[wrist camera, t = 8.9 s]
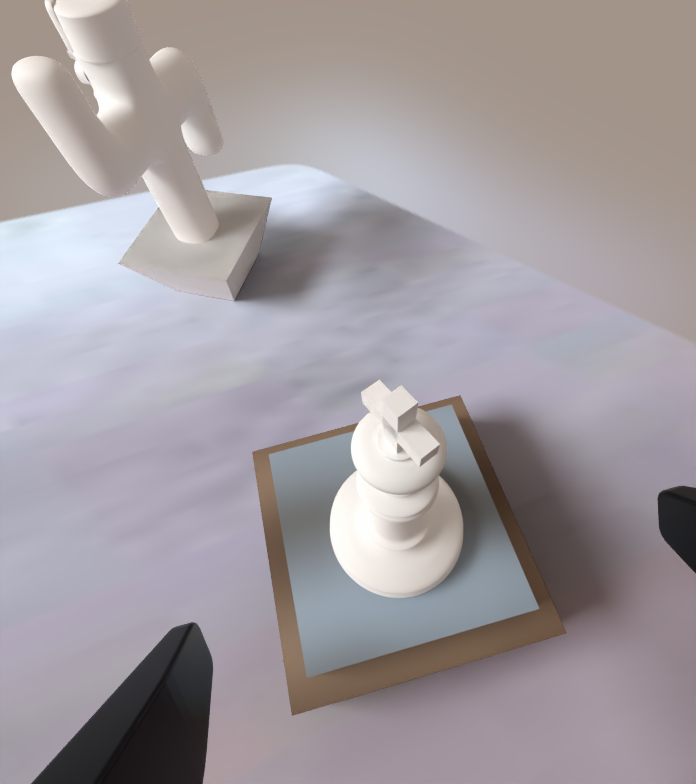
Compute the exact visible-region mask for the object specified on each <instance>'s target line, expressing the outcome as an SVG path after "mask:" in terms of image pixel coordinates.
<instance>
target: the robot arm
mask: <svg viewBox="0 0 696 784" xmlns="http://www.w3.org/2000/svg"><path fill="white" fill-rule="evenodd" d="M658 515H659V529H660V532H661V535H662V537H663V538H664V540H665V541H666V542H667V543H668V544H669V545H670V547H671V548H672V549H673V550H674V551H675V552H676V553H677V554H678V555H679V556H680V557H681V558H682V559H683V560H684V561H685V563H686V564H687V565H688V566H689V567H690V568H691V569H692V570H693V571H694V572H695V573H696V488H693V487H687V486H677V487H674V488H670V489H667V490H663V491H662V492H660V493H659V495H658ZM212 676H213V662H212V657H211V654H210V651H209V649H208V647H207V644H206V642H205V640H204V637H203V635H202V632H201V630H200V628H199V626H198V625H197V624H196V623H193V622H191V623H188V624H184V625H180V626H177V627H174V628H172V629H171V630H170V631H169V632H168V633H167V634H166V635H165V637H164V638H163V639H162V640H161V641H160V642H159V643H158V644H157V645H156V647H155V648H154V649H153V650H152V651H151V652H150V653H149V654H148V655H147V656H146V658H145V659H144V660H143V661H142V662H141V663H140V664H139V665H138V666H137V667H136V669H135V670H134V671H133V672H132V673H131V674H130V675H129V676H128V677H127V679H126V680H125V681H124V682H123V683H122V684H121V685H120V686H119V687H118V688H117V690H116V691H115V692H114V693H113V694H112V695H111V696H110V697H109V698H108V699H107V701H106V702H105V703H104V704H103V705H102V706H101V707H100V708H99V709H98V710H97V712H96V713H95V714H94V715H93V716H92V717H91V718H90V719H89V720H88V722H87V723H86V724H85V725H84V726H83V727H82V728H81V729H80V730H79V731H78V733H77V734H76V735H75V736H74V737H73V738H72V739H71V740H70V741H69V742H68V744H67V745H66V746H65V747H64V748H63V749H62V750H61V751H60V752H59V753H58V755H57V756H56V757H55V758H54V759H53V760H52V761H51V762H50V763H49V765H48V766H47V767H46V768H45V769H44V770H43V771H42V772H41V773H40V774H39V776H38V777H37V778H36V779H35V780H34V781H33V782H32V783H31V784H203V777H204V770H205V762H206V752H207V740H208V728H209V715H210V702H211V689H212Z"/></svg>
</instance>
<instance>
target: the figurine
mask: <svg viewBox="0 0 696 784" xmlns="http://www.w3.org/2000/svg"><path fill="white" fill-rule="evenodd" d="M45 6H46V9H47V11H48V14H49V16H50V18H51V19H52V21H53V23H54V25H55V27H56V28H57V30H58V32H59V34H60V36H61V37H62V39H63V41H64V43H65V45H66V47H67V48H68V50H69V51H67V53H68V54H69V56H70V57H71V58H73V59H74V60H76V61H75V72H76V75H77V77H78V78H79V80H80V81H81V82H82V83H85V84H91V86H92V87H93V89H94V96H95V98H96V99H97V100H98V104H99V113H98V114H97V115H96V114H95V112H94V111H93V109H92V108H91V106H90V105H89V103H88V102H87V100H86V98H85V96H84V95H83V93H82V91H81V90H80V88H79V86H78V85H77V83H76V82H75V80H74V78H73V77H72V75H71V74H70V73H69V71H68V70H67V69H66V68H65V67H64V66H63V65H62V64H60V63H59V62H57V61H55V60H53V59H51V58H48V57H42V56H31V57H27V58H23V59H21V60H19V61H18V62H17V63H16V64H15V65H14V66H13V68H12V79H13V81H14V84H15V86H16V88H17V90H18V91H19V93H20V95H21V96H22V98H23V99H24V101H25V102H26V103H27V105H28V106H29V108H30V109H31V111H32V112H33V113H34V115H35V116H36V118H37V119H38V120H39V122H40V123H41V125H42V126H43V128H44V129H45V131H46V132H47V134H48V135H49V136H50V138H51V139H52V141H53V142H54V143H55V145H56V146H57V148H58V149H59V151H60V152H61V153H62V155H63V156H64V158H65V159H66V160H67V162H68V163H69V165H70V166H71V167H72V168H73V170H74V171H75V172H76V173H77V175H78V176H79V177H80V178H81V179H82V180H83V181H84V182H85V183H86V184H87V185H88V186H89V187H90V188H92V189H93V190H94V191H96V192H98V193H99V194H102V195H104V196H107V197H120V196H123V195H125V194H126V193H127V192H129V191H130V190H131V188H133V187H134V185H135V184H136V183H137V181H138V180H139V179H140V178H141V176H142V177H143V179H144V181H145V183H146V184H147V186H148V188H149V190H150V192H151V193H152V195H153V197H154V199H155V201H156V202H157V204H158V206H159V207H158V209H157V210H156V212H155V213H154V214H153V216H152V217H151V219H150V220H149V221H148V223H147V224H146V226H145V227H144V228H143V230H142V231H141V233H140V234H139V235H138V237H137V238H136V239H135V241H134V242H133V244H132V245H131V246H130V248H129V249H128V251H127V252H126V253H125V255H124V256H123V258H122V259H121V260H120V262H119V263H118V264H120V265H123V266H125V267H127V268H129V269H131V270H133V271H135V272H138V273H140V274H142V275H144V276H146V277H148V278H150V279H152V280H155V281H157V282H159V283H161V284H163V285H165V286H167V287H170V288H172V289H174V290H176V291H180V292H185V293H191V294H197V295H203V296H208V297H214V298H220V299H226V300H231V301H235V299H236V297H237V295H238V293H239V291H240V289H241V287H242V285H243V283H244V281H245V279H246V278H247V276H248V274H249V272H250V270H251V268H252V266H253V264H254V262H255V260H256V258H257V256H258V255H259V250H260V246H261V242H262V238H263V233H264V229H265V225H266V221H267V216H268V212H269V208H270V203H271V199H272V198H269V197H261V196H252V195H243V194H234V193H226V192H217V191H208V190H205V189H204V186H203V184H202V182H201V179H200V177H199V175H198V173H197V170H196V168H195V165H194V163H193V161H192V158H191V156H190V154H189V151H188V149H187V147H186V144H187V145H188V147H189V148H190V149H191V151H193V152H194V153H196V154H199V155H204V156H210V155H214V154H217V153H219V152H220V151H221V150H222V148H223V138H222V135H221V132H220V129H219V126H218V123H217V121H216V118H215V115H214V112H213V109H212V106H211V103H210V100H209V98H208V95H207V92H206V89H205V86H204V84H203V81H202V79H201V77H200V74H199V72H198V70H197V69H196V67H195V65H194V63H193V62H192V61H191V59H190V58H189V57H188V56H187V55H186V54H185V53H184V52H182V51H180V50H179V49H176V48H172V47H168V48H163V49H161V50H159V51H158V52H157V53H155V54H154V55H153V56H152V58H151V59H150V60H149V58H148V56H147V53H146V51H145V49H144V46H143V43H142V41H141V38H140V34H139V31H138V29H137V26H136V23H135V20H134V17H133V15H132V12H131V9H130V6H129V4H128V1H127V0H45ZM183 137H184V138H183ZM184 139H185V142H186V144H185V142H184Z"/></svg>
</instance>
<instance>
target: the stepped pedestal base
mask: <svg viewBox="0 0 696 784" xmlns="http://www.w3.org/2000/svg"><path fill="white" fill-rule="evenodd" d="M418 408H420V409H422V410H424V411H425V412H427V413H428V414H430V415H431V416H432V417H433V418H434V419H435V420H436V421H437V423H438V424H439V425H440V427H441V429H442V431H443V433H444V435H445V438H446V443H447V456H446V461H445V464H444V467H443V469H442V471H441V473H440V474H439V476H440V477H441V478H442V479H443V480H444V481H445V482H446V483H447V484H448V486H449V487H450V488H451V490H452V491H453V493H454V495H455V497H456V499H457V501H458V503H459V506H460V509H461V513H462V518H463V543H462V548H461V552H460V555H459V558H458V560H457V562H456V564H455V566H454V568H453V569H452V571H451V572H450V573H449V575H448V576H447V577H446V578H445V579H444V580H443V581H442V582H441V583H440V584H438V585H437V586H436V587H434V588H433V589H431V590H429V591H427V592H425V593H423V594H420V595H417V596H413V597H408V598H390V597H385V596H381V595H378V594H375V593H372V592H370V591H368V590H366V589H365V588H363V587H361V586H360V585H359V584H357V583H356V582H355V581H354V580H353V579H352V578H351V577H350V576H349V575H348V574H347V573H346V572H345V571H344V569H343V568H342V566H341V565H340V563H339V561H338V559H337V557H336V555H335V553H334V550H333V547H332V543H331V538H330V515H331V509H332V505H333V502H334V499H335V497H336V495H337V493H338V491H339V489H340V488H341V486H342V485H343V483H344V482H345V481H346V480H347V479H348V478H349V477H350V476H351V475H352V474H353V473H354V472H355V471H357V469H356V467H355V465H354V463H353V459H352V455H351V441H352V436H353V433H354V431H355V429H356V427H357V425H358V424H359V423H357V424H353V425H349V426H346V427H342V428H338V429H335V430H331V431H327V432H324V433H320V434H316V435H313V436H309V437H305V438H302V439H298V440H294V441H291V442H287V443H283V444H280V445H276V446H272V447H269V448H265V449H261V450H258V451H254V452H252V453H253V459H254V466H255V473H256V479H257V486H258V493H259V499H260V506H261V512H262V519H263V526H264V532H265V539H266V546H267V552H268V559H269V566H270V572H271V579H272V585H273V592H274V599H275V605H276V612H277V619H278V625H279V632H280V639H281V645H282V652H283V658H284V665H285V672H286V678H287V685H288V692H289V698H290V705H291V711H292V716H293V715H296V714H299V713H303V712H306V711H309V710H313V709H316V708H319V707H323V706H326V705H329V704H333V703H336V702H339V701H343V700H346V699H349V698H353V697H356V696H359V695H363V694H366V693H369V692H373V691H376V690H379V689H383V688H386V687H389V686H393V685H396V684H399V683H403V682H406V681H409V680H412V679H416V678H419V677H422V676H426V675H429V674H432V673H436V672H439V671H442V670H446V669H449V668H452V667H456V666H459V665H462V664H466V663H469V662H472V661H476V660H479V659H482V658H486V657H489V656H492V655H496V654H499V653H502V652H506V651H509V650H512V649H515V648H519V647H522V646H525V645H529V644H532V643H535V642H539V641H542V640H545V639H549V638H552V637H555V636H559V635H562V634H565V633H566V631H565V629H564V626H563V624H562V622H561V620H560V617H559V615H558V613H557V611H556V608H555V606H554V604H553V602H552V599H551V597H550V595H549V593H548V591H547V588H546V586H545V584H544V582H543V579H542V577H541V575H540V573H539V570H538V568H537V566H536V564H535V561H534V559H533V557H532V555H531V552H530V550H529V548H528V546H527V544H526V541H525V539H524V537H523V535H522V532H521V530H520V528H519V526H518V523H517V521H516V519H515V517H514V514H513V512H512V510H511V508H510V505H509V503H508V501H507V499H506V497H505V494H504V492H503V490H502V488H501V485H500V483H499V481H498V479H497V476H496V474H495V472H494V470H493V467H492V465H491V463H490V461H489V458H488V456H487V454H486V452H485V450H484V447H483V445H482V443H481V441H480V438H479V436H478V434H477V432H476V429H475V427H474V425H473V423H472V420H471V418H470V416H469V414H468V412H467V409H466V407H465V405H464V403H463V400H462V398H461V396H456V397H452V398H449V399H445V400H441V401H438V402H434V403H430V404H427V405H423V406H419V407H418Z"/></svg>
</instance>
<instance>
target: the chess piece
mask: <svg viewBox="0 0 696 784" xmlns="http://www.w3.org/2000/svg"><path fill="white" fill-rule="evenodd" d="M361 394H362V402H363V404H364V405H365V406H366V407H367V408H368V409H369V411H370V412H369V413H368V414H367V415H366V416H365V417H364V418H363V419H362V420H361V421H360V422H359V424H358V425H357V427H356V429H355V431H354V433H353V436H352V441H351V455H352V459H353V463H354V465H355V467H356V469H357V471H355V472H354V473H353V474H352V475H351V476H350V477H349V478H348V479H347V480H346V481H345V482H344V483H343V485H342V486H341V488H340V489H339V491H338V493H337V495H336V497H335V499H334V502H333V505H332V509H331V515H330V538H331V543H332V547H333V550H334V553H335V555H336V557H337V559H338V561H339V563H340V565H341V566H342V568H343V569H344V571H345V572H346V573H347V574H348V575H349V576H350V577H351V578H352V579H353V580H354V581H355V582H356V583H357V584H359V585H360V586H361V587H363V588H365V589H366V590H368V591H370V592H372V593H375V594H378V595H381V596H385V597H390V598H408V597H413V596H417V595H420V594H423V593H425V592H427V591H429V590H431V589H433V588H434V587H436V586H437V585H438V584H440V583H441V582H442V581H443V580H444V579H445V578H446V577H447V576H448V575H449V573H450V572H451V571H452V569H453V568H454V566H455V564H456V562H457V560H458V558H459V555H460V552H461V548H462V543H463V518H462V513H461V509H460V506H459V503H458V501H457V499H456V497H455V495H454V493H453V491H452V490H451V488H450V487H449V486H448V484H447V483H446V482H445V481H444V480H443V479H442V478H441V477H440V476H439V474H440V473H441V471H442V469H443V467H444V464H445V461H446V456H447V443H446V438H445V435H444V433H443V431H442V429H441V427H440V425H439V424H438V423H437V421H436V420H435V419H434V418H433V417H432V416H431V415H430V414H428V413H427V412H425V411H424V410H422V409H420V408H418V402H417V401H416V400H415V399H414V398H413V397H412V396H411V395H410V394H409V393H408V392H407V391H406V390H405V389H404V388H403V387H402V386H400V387H398V388H397V389H395V390H394V391H393V392H390V390H389V389H388V388H387V387H386V386H385V385H384V384H383V383H382V382H381V381H380V380H378V381H377V382H375V383H374V384H372V385H371V386H370V387H368V388H367V389H365V390H364V391H362V392H361Z"/></svg>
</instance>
